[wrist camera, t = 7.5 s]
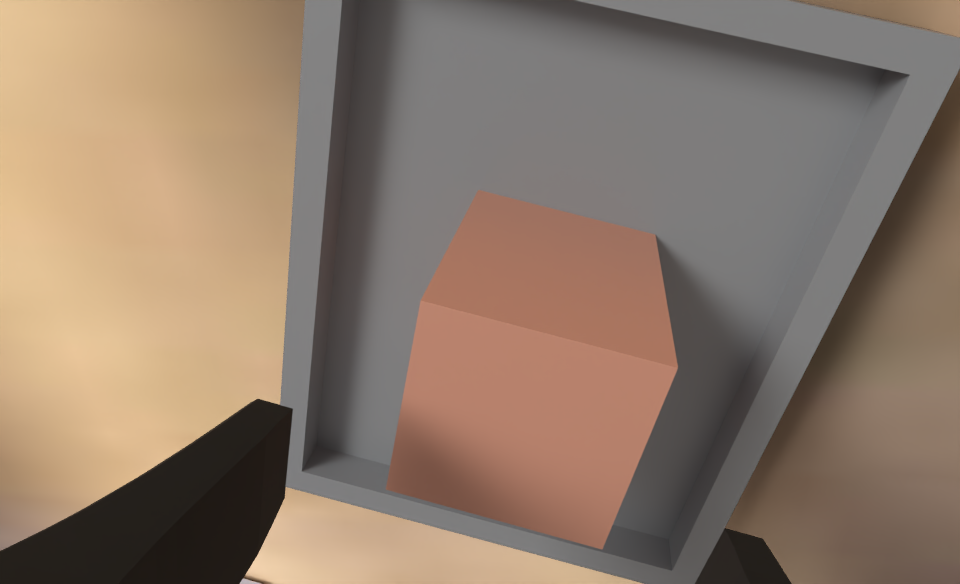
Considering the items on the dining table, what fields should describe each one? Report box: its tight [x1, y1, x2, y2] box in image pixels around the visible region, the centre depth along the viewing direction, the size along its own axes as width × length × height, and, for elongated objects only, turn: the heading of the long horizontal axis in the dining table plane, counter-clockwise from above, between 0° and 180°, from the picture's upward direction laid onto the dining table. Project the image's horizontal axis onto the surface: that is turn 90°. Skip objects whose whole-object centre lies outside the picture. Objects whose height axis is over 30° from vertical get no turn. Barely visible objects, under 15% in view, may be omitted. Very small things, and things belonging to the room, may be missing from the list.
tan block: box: [386, 190, 678, 549], centre depth 15 cm, size 4×4×6 cm
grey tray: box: [280, 0, 960, 584], centre depth 18 cm, size 16×13×2 cm
